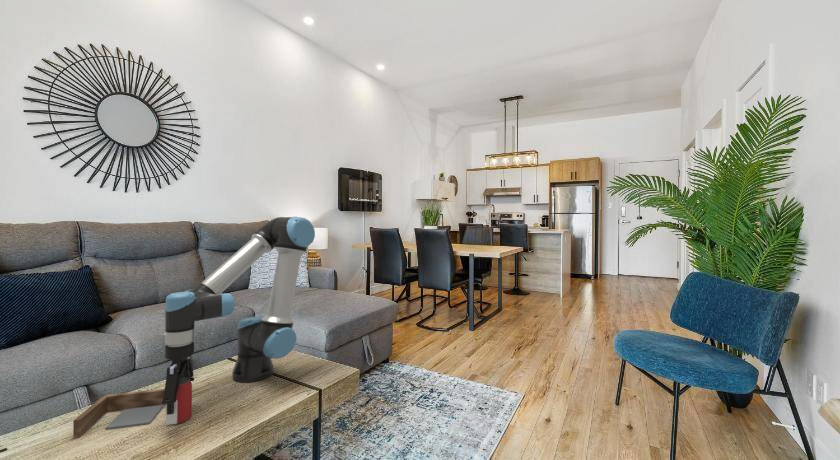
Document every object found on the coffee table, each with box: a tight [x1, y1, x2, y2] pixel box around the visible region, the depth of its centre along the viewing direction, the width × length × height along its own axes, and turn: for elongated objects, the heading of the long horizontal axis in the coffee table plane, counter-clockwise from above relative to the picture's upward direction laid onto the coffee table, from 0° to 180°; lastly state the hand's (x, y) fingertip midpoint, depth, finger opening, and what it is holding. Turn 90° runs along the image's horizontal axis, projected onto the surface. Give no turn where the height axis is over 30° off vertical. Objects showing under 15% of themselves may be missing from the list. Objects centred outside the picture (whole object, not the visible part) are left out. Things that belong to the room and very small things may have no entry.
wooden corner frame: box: [72, 388, 166, 439], centre depth 110 cm, size 21×16×5 cm
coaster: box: [105, 405, 165, 431], centre depth 111 cm, size 11×11×1 cm
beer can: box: [169, 377, 193, 425], centre depth 110 cm, size 7×7×12 cm
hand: (179, 412), depth 110 cm, fingers open, 12 cm apart
